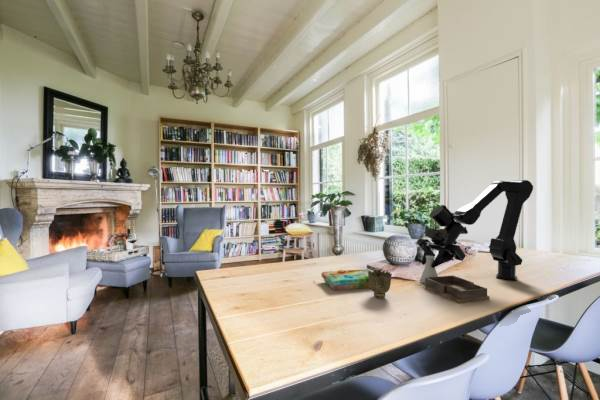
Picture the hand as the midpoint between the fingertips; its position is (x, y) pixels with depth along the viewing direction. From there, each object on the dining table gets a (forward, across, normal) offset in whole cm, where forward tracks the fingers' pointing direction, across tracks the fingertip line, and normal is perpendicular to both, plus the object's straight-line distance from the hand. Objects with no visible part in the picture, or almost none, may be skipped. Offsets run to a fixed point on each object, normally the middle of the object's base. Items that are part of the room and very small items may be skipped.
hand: (427, 265), depth 107 cm
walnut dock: (+4, +12, +5) cm, 14 cm away
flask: (+4, 0, +6) cm, 7 cm away
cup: (+23, +6, -13) cm, 27 cm away
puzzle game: (+24, -8, -14) cm, 29 cm away
